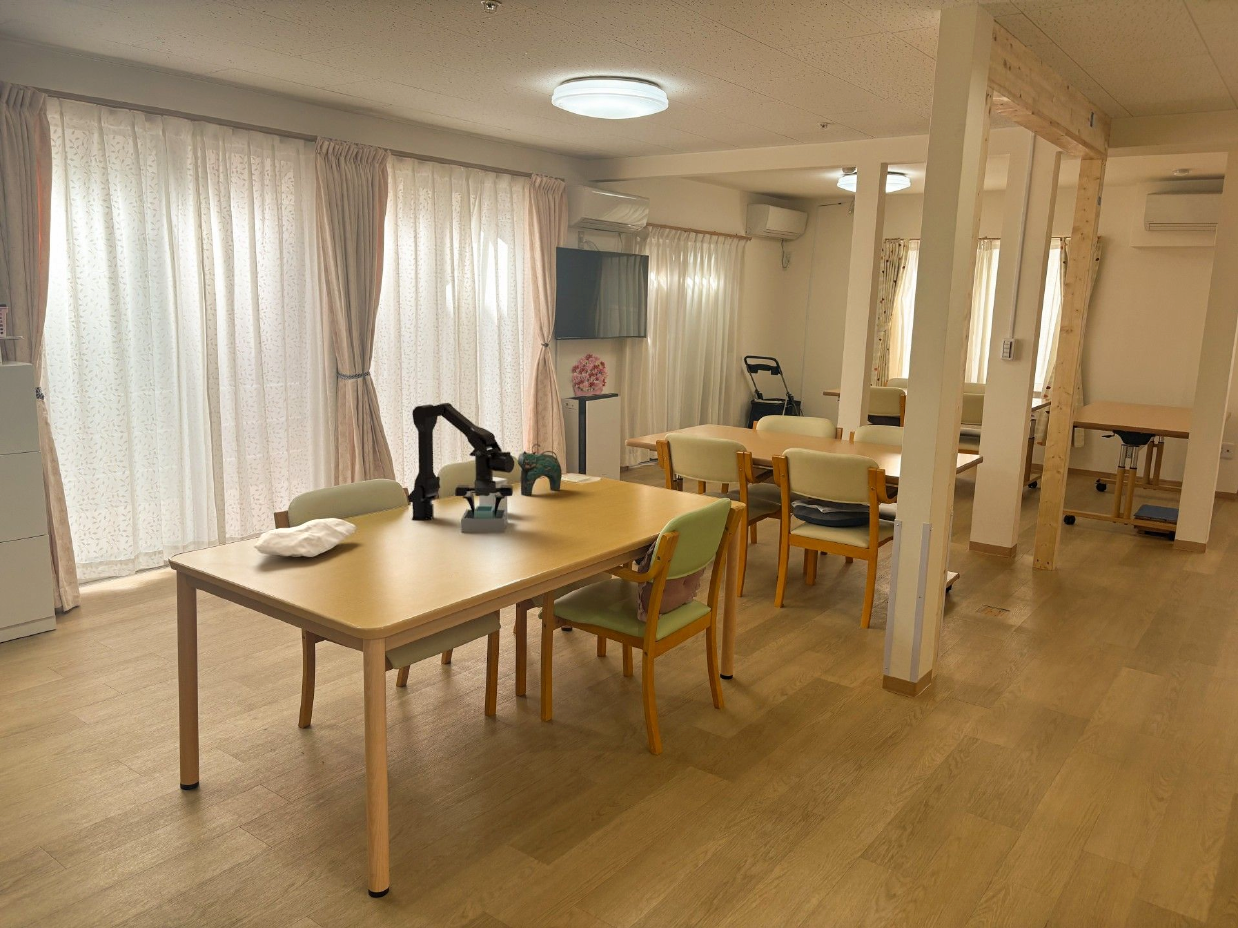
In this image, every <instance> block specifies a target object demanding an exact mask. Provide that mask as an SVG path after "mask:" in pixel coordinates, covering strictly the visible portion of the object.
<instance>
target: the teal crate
mask: <svg viewBox="0 0 1238 928" xmlns="http://www.w3.org/2000/svg"><path fill="white" fill-rule="evenodd" d="M494 510H495V506H479V505H477V506H476V507H475V511H474V519H487V518H495V516H494Z"/></svg>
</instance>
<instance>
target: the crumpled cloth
mask: <svg viewBox="0 0 1238 928" xmlns="http://www.w3.org/2000/svg"><path fill="white" fill-rule="evenodd" d="M355 531H356V525H355V524H353V523H351V522H348V521H346V520H344V519H339V518H336V517H335V518H334V517H333V518H332V517H330V518H321V519H320V518H319V519H317V518H316V519H313V520H309V521H306V522H304V523H303V524H301V525H298V526H297V525H296V526H293V527H280V528H276V529H271V530H269V531H266V532H264V533H261V534H260V537H259V538H258V541H257V542H256V543H255V544H254V546H253V548H254V549H255V550H257V552H259V553H260V554H264V555H270V556H271V555H272V556H273V555H275V556H282V557H290V556H291V557H293V558H299V557H309V558H310V557H311V558H313V557H315V556H318V555H319V554H322V553H325V552H326V551H328V550H332V549H333V548H335V546H337V545H339V544H340V543H341V542H342V541H344V539H346V538H348V537H349V536H351V535H353V534H354V532H355Z"/></svg>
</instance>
